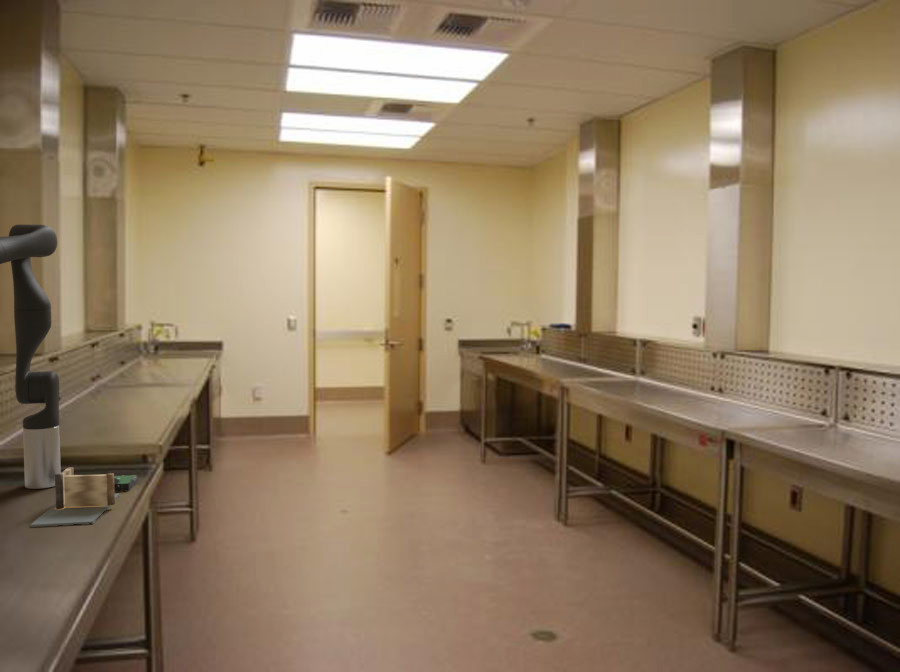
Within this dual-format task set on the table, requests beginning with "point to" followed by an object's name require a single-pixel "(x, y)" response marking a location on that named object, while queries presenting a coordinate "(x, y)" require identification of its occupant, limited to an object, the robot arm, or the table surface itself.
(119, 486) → the disk drive
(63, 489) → the fixed fence section
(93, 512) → the board
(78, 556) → the table surface
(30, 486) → the robot arm
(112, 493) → the hinged fence panel
